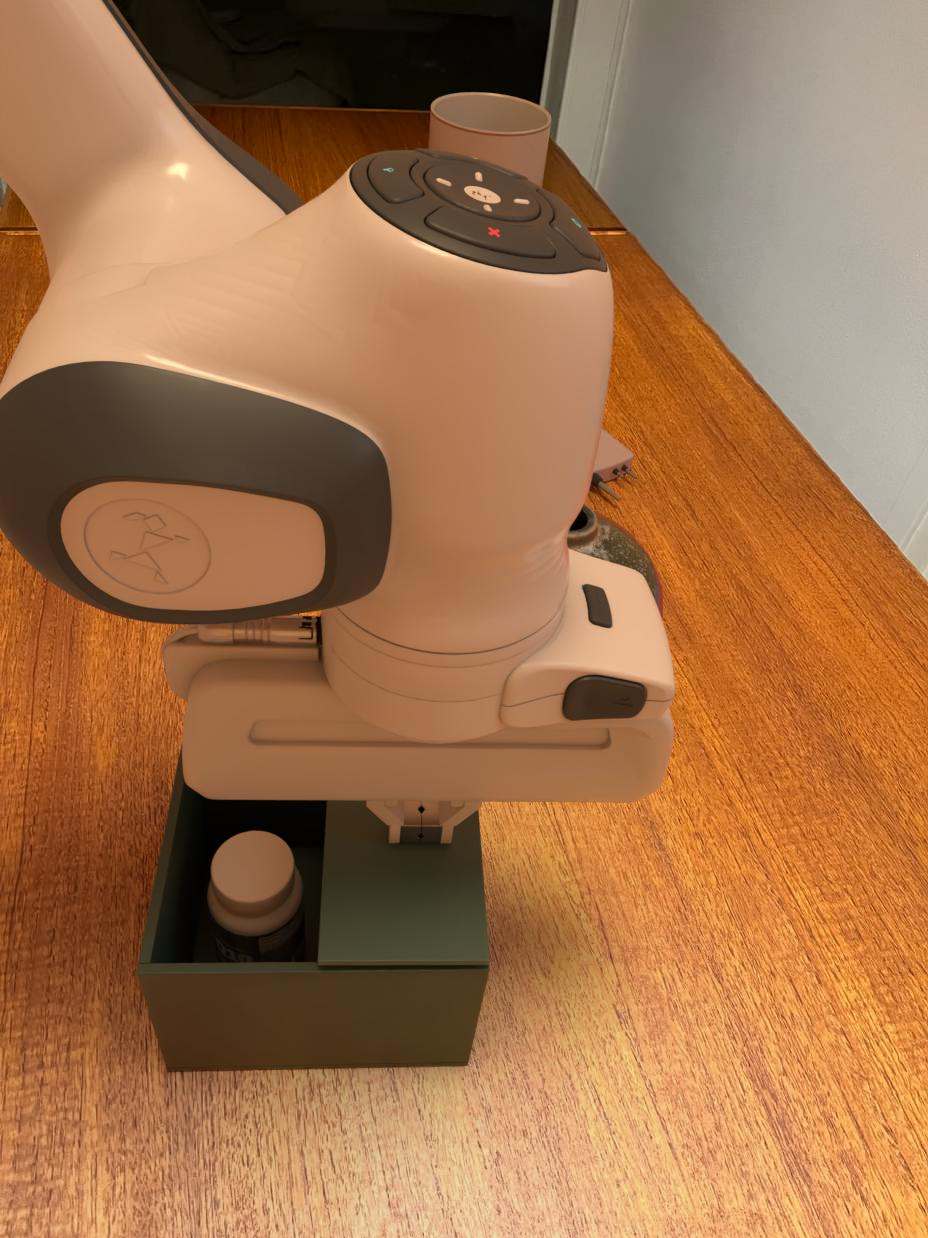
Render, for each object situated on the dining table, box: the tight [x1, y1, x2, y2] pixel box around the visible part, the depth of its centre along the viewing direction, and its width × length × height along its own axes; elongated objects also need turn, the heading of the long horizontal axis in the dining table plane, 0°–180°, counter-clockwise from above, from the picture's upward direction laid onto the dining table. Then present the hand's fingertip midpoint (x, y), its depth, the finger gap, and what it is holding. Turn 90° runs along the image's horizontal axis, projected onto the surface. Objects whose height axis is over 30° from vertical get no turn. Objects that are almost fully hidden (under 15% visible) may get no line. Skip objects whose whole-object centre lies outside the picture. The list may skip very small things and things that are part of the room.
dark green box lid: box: [318, 800, 491, 966], centre depth 46 cm, size 7×13×1 cm, turn 3°
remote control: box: [590, 428, 638, 502], centre depth 89 cm, size 7×16×3 cm, turn 33°
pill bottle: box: [207, 831, 305, 963], centre depth 50 cm, size 5×5×8 cm
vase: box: [567, 503, 664, 619], centre depth 66 cm, size 15×15×13 cm
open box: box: [136, 742, 491, 1072], centre depth 50 cm, size 15×13×10 cm
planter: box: [427, 91, 553, 188], centre depth 110 cm, size 13×13×18 cm
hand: (419, 831), depth 46 cm, fingers closed, pressing on dark green box lid
